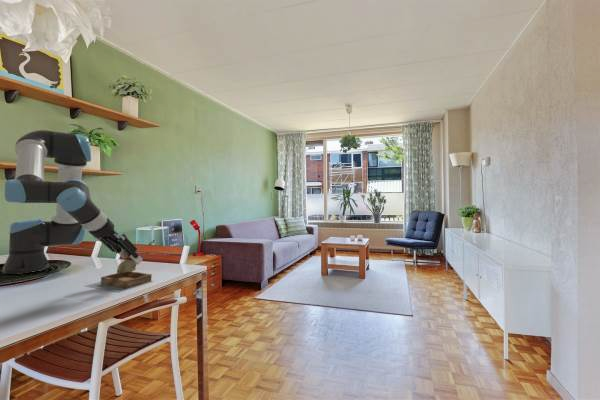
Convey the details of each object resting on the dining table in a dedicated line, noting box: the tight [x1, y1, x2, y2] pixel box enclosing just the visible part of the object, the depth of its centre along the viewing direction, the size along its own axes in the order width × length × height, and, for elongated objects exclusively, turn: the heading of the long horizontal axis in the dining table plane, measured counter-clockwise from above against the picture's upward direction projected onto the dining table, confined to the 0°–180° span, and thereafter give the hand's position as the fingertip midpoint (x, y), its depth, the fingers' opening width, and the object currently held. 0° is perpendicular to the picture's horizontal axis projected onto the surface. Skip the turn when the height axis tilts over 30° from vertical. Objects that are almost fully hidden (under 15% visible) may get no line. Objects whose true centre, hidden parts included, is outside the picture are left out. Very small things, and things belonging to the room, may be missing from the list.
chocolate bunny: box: [116, 251, 138, 273], centre depth 117 cm, size 6×8×10 cm
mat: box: [85, 280, 154, 294], centre depth 116 cm, size 18×16×1 cm
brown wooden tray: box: [100, 271, 152, 289], centre depth 117 cm, size 14×12×3 cm
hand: (135, 261), depth 121 cm, fingers closed on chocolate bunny, 4 cm apart
